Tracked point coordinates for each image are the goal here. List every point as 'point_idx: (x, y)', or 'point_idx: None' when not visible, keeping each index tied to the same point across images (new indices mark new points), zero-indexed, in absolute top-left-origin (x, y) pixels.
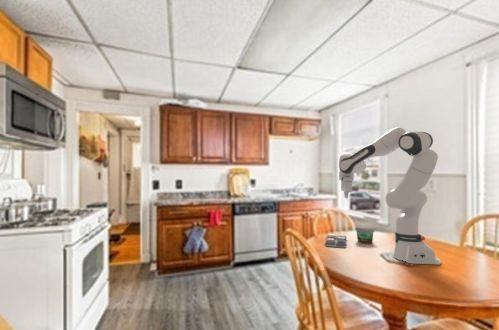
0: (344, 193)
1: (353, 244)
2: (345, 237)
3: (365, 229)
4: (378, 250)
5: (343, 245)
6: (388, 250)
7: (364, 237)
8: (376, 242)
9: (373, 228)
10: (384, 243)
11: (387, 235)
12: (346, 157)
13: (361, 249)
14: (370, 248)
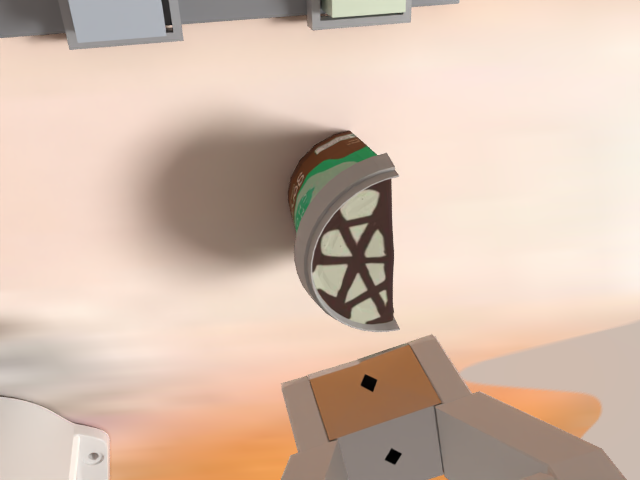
0: (511, 452)
1: (211, 101)
2: None
3: (309, 272)
4: (101, 301)
5: (58, 10)
6: (141, 356)
7: (295, 218)
8: None
9: (379, 330)
10: None
11: (601, 317)
12: None
13: (53, 183)
14: (134, 246)
